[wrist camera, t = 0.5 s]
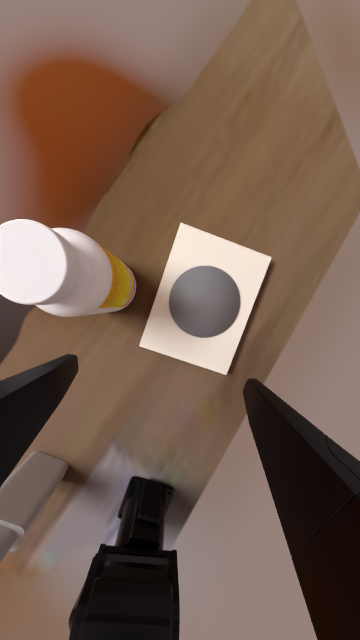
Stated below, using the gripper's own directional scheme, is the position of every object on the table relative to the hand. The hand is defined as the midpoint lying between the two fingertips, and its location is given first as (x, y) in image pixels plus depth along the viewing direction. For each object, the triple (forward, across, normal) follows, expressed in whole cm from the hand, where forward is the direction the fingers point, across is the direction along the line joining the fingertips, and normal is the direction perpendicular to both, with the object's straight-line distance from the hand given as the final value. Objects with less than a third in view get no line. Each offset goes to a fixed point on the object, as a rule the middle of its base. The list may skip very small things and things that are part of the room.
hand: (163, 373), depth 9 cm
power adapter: (+7, +14, +25) cm, 30 cm away
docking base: (+15, -4, 0) cm, 15 cm away
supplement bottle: (+15, +8, 0) cm, 17 cm away
